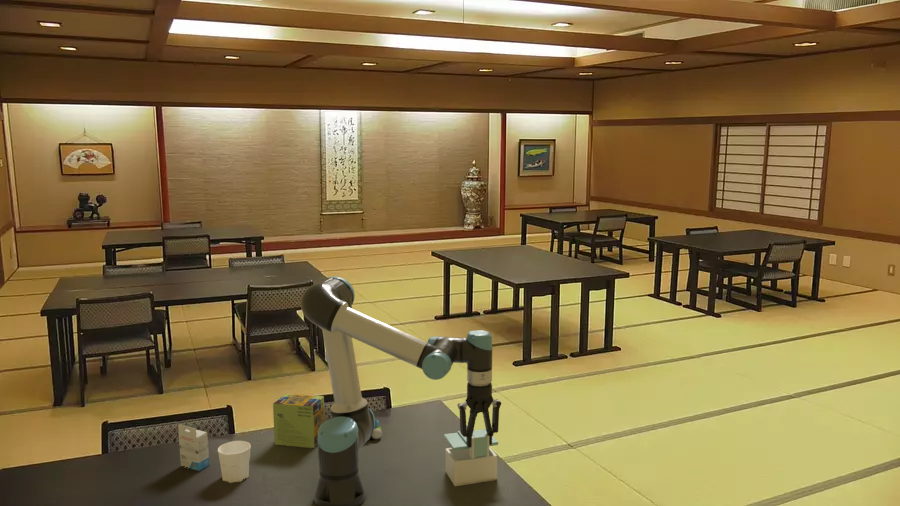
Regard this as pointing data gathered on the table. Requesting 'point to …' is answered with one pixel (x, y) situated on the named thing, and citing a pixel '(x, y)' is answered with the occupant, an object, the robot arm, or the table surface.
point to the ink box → (193, 448)
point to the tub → (470, 467)
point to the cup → (234, 460)
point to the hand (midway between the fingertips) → (479, 455)
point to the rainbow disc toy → (376, 431)
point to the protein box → (298, 420)
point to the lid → (460, 442)
